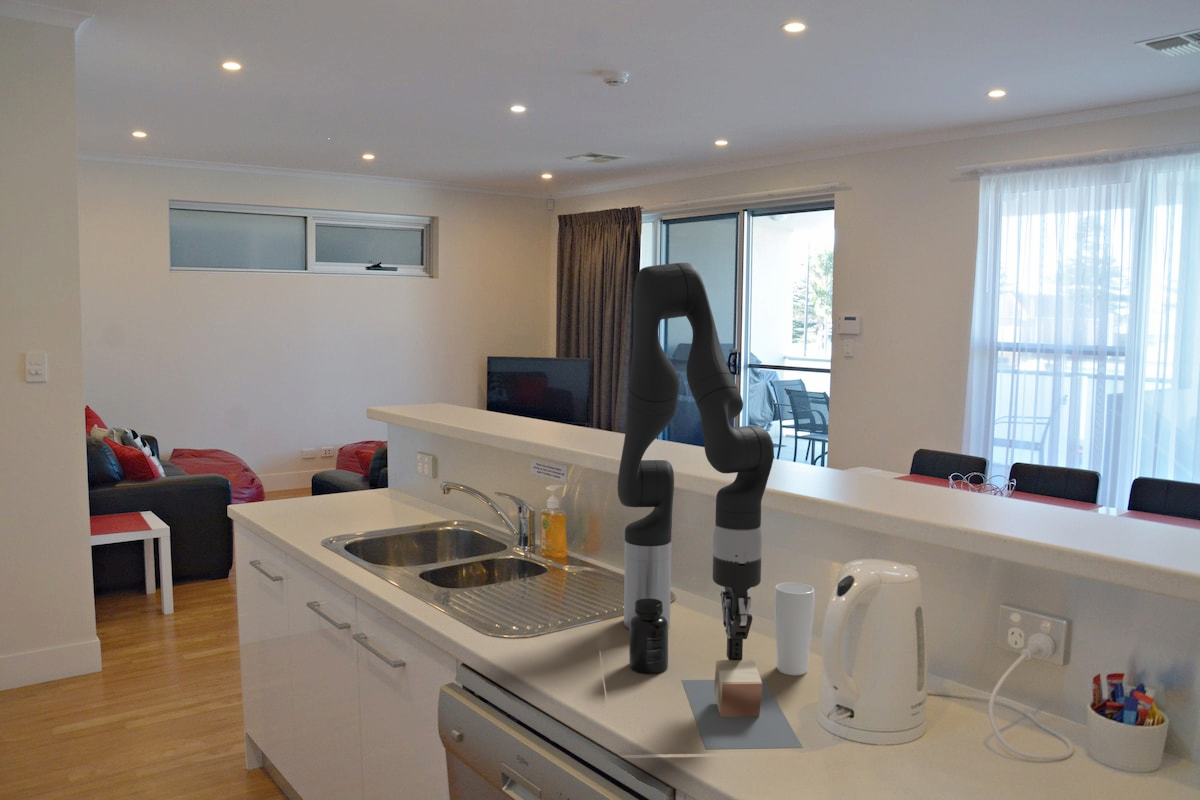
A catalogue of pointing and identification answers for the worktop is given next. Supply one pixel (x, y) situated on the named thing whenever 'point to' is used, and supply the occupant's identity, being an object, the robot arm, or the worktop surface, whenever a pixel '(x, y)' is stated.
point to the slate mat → (739, 721)
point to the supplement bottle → (648, 638)
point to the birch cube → (737, 688)
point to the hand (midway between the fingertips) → (734, 659)
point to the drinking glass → (793, 626)
